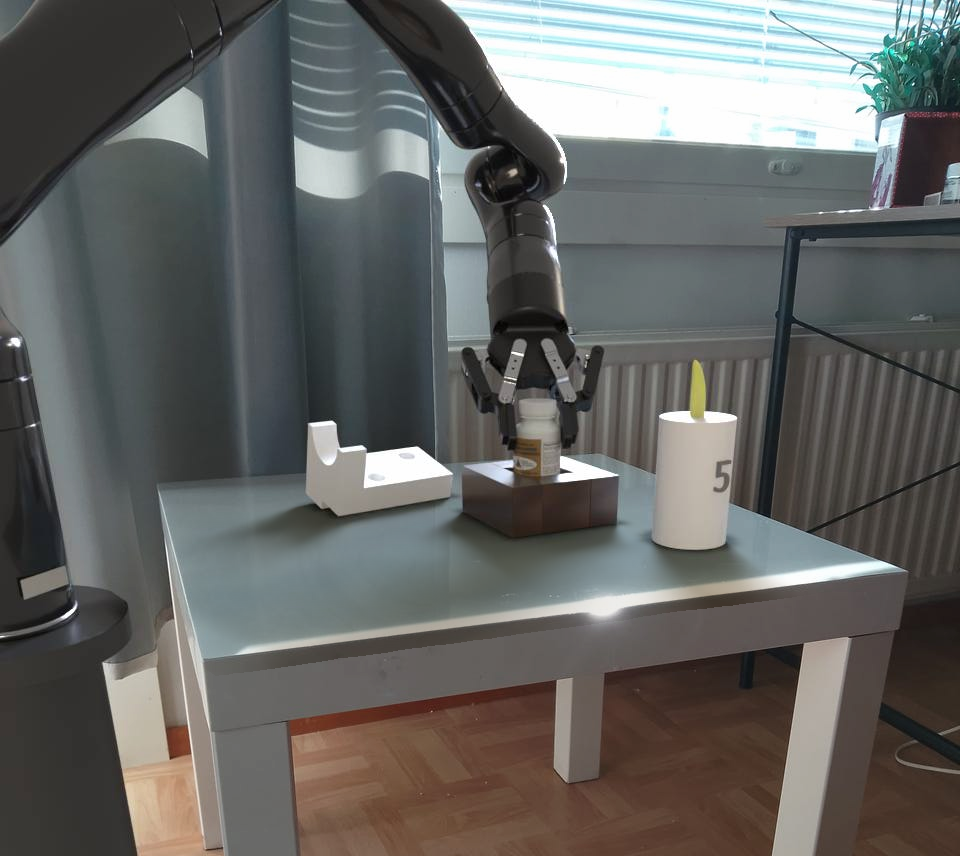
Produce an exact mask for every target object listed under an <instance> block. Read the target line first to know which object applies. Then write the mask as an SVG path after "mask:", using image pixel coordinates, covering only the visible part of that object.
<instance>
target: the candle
mask: <svg viewBox="0 0 960 856" xmlns="http://www.w3.org/2000/svg"><path fill="white" fill-rule="evenodd" d="M690 387H691V388H690V398H689V410H688V411H687V410H685V411H670V412H664V413H662V414H660V415H659V416H658V417H659V418H658V430H657V447H656V462H655V464H656V465H655V479H654V480H655V482H654V497H653V510H652V513H653V514H652V528H651V541H653V542H654V543H655V544H658V545H660V546H663V547H666V548H670V549H671V548H672V549H676V550H677V549H678V550H688V551H689V550H691V551H693V550H694V551H699V550H700V551H701V550H710V549H717V548H719V547H722V546H724V545H725V544H726V541H727V532H728V531H727V530H728V522H729V521H728V519H729V518H728V517H729V510H730V507H729V506H730V499H731V489H732V477H733V466H734V456H735V445H736V435H737V426H738V425H737V424H738V417H737V416H736V415H733V414H730V413H725V412H717V411H706V404H707V389H706V380H705V375H704V370H703V369H702V366H701V364H700V362H699V361H698V360H697V359H694V360H693V361H692V369H691V386H690Z"/></svg>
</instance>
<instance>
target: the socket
mask: <svg viewBox="0 0 960 856" xmlns="http://www.w3.org/2000/svg"><path fill="white" fill-rule="evenodd" d="M619 483H620V475H619V474H616V473H613V472H610V471H607V470H604V469H600V468H599V467H595V466H592V465H590V464H587V463H583V462H580V461H578V460H574V459H572V458H569V457H566V456H563V455H560V474H557V475H549V476H540V477H531V478H526V477H523V476H521V475H518V474H516V473H513V459H511V460H510V459H509V460H503V461H501V460H499V461H491V462H481V463H473V464H464V465H461V501H462V502H461V503H462V509H461V510H462V512H463V513H465V514H467V515H469V516H471V517H473V518H474V519H477V520H478V521H480V522H482V523H484V524H486V525H487V526H489V527H491V528H493V529H495V530H497V531H499V532H501V533H502V534H504V535H506V536H508V537H510V538H512V539H516V538H522V537H523V538H524V537H529V536H537V535H543V534H544V535H545V534H551V533H559V532H565V531H572V530H580V529H586V528H593V527H599V526H600V527H601V526H607V525H614V524H617V522H618V505H619V504H618V503H619Z"/></svg>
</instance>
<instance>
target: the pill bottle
mask: <svg viewBox="0 0 960 856" xmlns="http://www.w3.org/2000/svg"><path fill="white" fill-rule="evenodd" d="M557 410H558V407H557V405H556V400H553V399H551V398H545V397H544V398H542V397H533V398H523V399H520V400H518V414H519V415H518V417H519V418H520V422H519V423H517V424H516V434H517V441H516V448H515V451H512V458H513V459H512V460H513V473H516V474H518V475H521V476H523V477H526V478H531V477H540V476H549V475H557V474H560V456H561V453H562V452H561V450H562V445H561V429H560V426H559V423H556V422H555V421H554V420H555V419H554V418H556V417H557V412H558V411H557Z"/></svg>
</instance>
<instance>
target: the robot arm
mask: <svg viewBox="0 0 960 856" xmlns="http://www.w3.org/2000/svg"><path fill="white" fill-rule="evenodd" d="M281 1H282V0H35V1H34V2H33V3H32V5H31V6H30V7H29V9H28V10H27V12H26V13H25V14H24V15H23V16H22V18H21V19H20V20H19V21H18V22H17V23H16V24H15V25H14V27H13V28H11V30H10V31H8V32H7V33H6V34H5V35H3V36H2V37H1V38H0V248H1V247H2V246H4V245H5V244H6V243H7V242H8V241H9V240H10V239H11V238H12V236H13V235H14V234H16V232H17V231H18V230H19V229H20V228H21V227H22V225H23V224H24V223H25V222H26V221H27V220H28V219H29V218H30V216H31V215H33V213H34V212H35V211H36V210H37V209H38V208H39V207H40V205H42V204H43V202H45V200H46V199H47V198H48V197H49V196H50V195H51V194H52V193H53V191H54V190H55V189H56V188H57V187H58V186H59V185H60V184H61V183H62V182H63V181H64V179H66V177H68V175H69V174H70V173H71V172H72V171H73V170H74V169H75V168H76V167H77V166H78V165H79V164H80V163H81V162H82V161H83V160H85V158H86V157H87V156H89V155H90V154H91V153H92V152H93V151H94V150H96V149H97V148H98V147H100V146H101V145H103V144H104V143H106V142H107V141H109V140H111V139H112V138H113V137H115V136H116V135H118V134H120V133H121V132H123V131H124V130H127V128H129V127H130V126H132V125H133V124H135V123H136V122H137V121H139V120H140V119H142V118H143V117H145V116H146V115H147V114H148V113H150V112H151V111H153V110H154V109H156V108H157V107H158V106H160V105H161V104H162V103H164V102H165V101H166V100H168V99H169V98H170V97H172V96H173V95H175V94H176V93H178V92H179V91H180V90H182V89H183V88H184V87H185V86H186V85H188V84H189V83H190V82H191V81H193V80H194V79H195V78H196V77H197V76H199V75H200V74H201V73H202V72H203V71H205V69H207V68H208V67H210V65H212V64H213V63H214V62H216V61H217V60H218V59H219V58H220V57H221V56H222V55H223V54H224V53H225V52H226V51H227V50H228V49H229V48H230V47H231V46H232V45H233V44H234V43H236V42H237V41H238V40H239V39H241V37H242V36H243V35H245V34H246V33H247V32H249V30H250V29H252V28H253V27H254V26H255V25H256V24H257V23H259V22H260V21H261V20H262V18H264V17H266V15H268V13H269V12H271V11H272V10H273V9H274V8H275V7H276V6H277V5H278V4H279V3H280V2H281ZM343 1H345V3H346V5H348V6H349V7H350V9H351V10H352V11H353V12H354V13H355V15H357V16H358V17H359V19H360V20H361V21H362V23H364V24H365V26H367V28H368V29H369V31H371V32H372V33H373V34H374V36H375V37H376V38H377V39H378V41H380V42H381V44H382V45H383V46H384V47H385V49H386V50H387V51H388V52H389V53H390V55H391V56H392V57H393V58H394V59H395V61H396V62H397V63H398V65H399V66H400V68H401V69H402V70H403V71H404V73H405V74H406V75H407V78H408V79H409V80H410V82H411V83H412V84H413V85H414V87H415V89H416V90H417V91H418V93H419V95H420V96H421V98H422V99H423V101H424V102H425V104H426V106H427V107H428V109H429V110H430V111H431V113H432V115H433V116H434V117H435V119H436V120H437V122H438V124H439V125H440V126H441V128H442V130H443V132H444V133H445V134H446V136H447V137H448V139H449V140H450V141H451V143H452V144H454V146H455V147H457V148H459V149H461V150H467V151H471V150H472V151H473V150H478V149H482V150H480V151H478V152H477V153H476V154H474V155H473V156H472V157H471V158H470V160H469V161H468V163H467V165H466V167H465V171H464V174H463V184H464V189H465V192H466V194H467V197H468V199H469V201H470V203H471V205H472V207H473V209H474V210H475V212H476V215H477V217H478V219H479V222H480V225H481V227H482V231H483V235H484V237H485V238H484V239H485V248H486V260H487V261H486V262H487V274H486V303H487V307H488V320H489V321H488V322H489V332H490V333H489V335H490V341H489V342H488V344H487V348H484V349H480V350H476V351H475V349H474V348H473V347H470V346H465V347H464V348H462V349H461V358H460V359H461V360H460V371H461V374H462V376H463V378H464V381H465V383H466V385H467V388H468V390H469V393H470V395H471V397H472V399H473V402H474V404H475V406H476V407H475V408H476V409H477V411H478V412H479V413H480V414H483V415H484V414H488V413H491V414H493V415H494V416H496V417H497V425H498V439H499V442H500V444H501V446H506V450H507V451H509V452H510V451H511V452H513V451H515V448H516V441H517V434H516V425H517V424H516V411H515V404H514V402H515V400H516V397H517V393H518V390H528V389H531V388H534V389H539V390H546V392H547V393H548V396H549V399H553V400H556V407H557V410H558V412H559V414H558V425H559V427H560V429H561V450H562V451H566V450H571V448H572V445H574V444H575V445H576V441H577V439H578V434H579V431H580V427H579V420H578V412H583V413H588V412H590V411H591V409H592V406H593V402H594V397H595V394H596V389H597V385H598V381H599V376H600V372H601V368H602V363H603V359H604V354H605V349H604V347H602V345H594V346H593V347H592V348H591V349H586V348H581V347H577V345H576V343H575V341H574V340H573V339H572V337H571V335H570V329H569V321H568V319H569V318H568V311H567V302H566V301H567V300H566V293H565V284H564V276H563V271H562V267H561V263H560V260H559V255H558V247H557V240H556V229H555V223H554V219H553V216H552V213H551V212H550V210H549V208H548V207H547V206H546V205H545V204H544V203H543V202H545V201H548V200H549V199H551V198H552V197H554V196H556V195H558V193H559V192H560V191H561V190H562V188H563V186H564V184H565V182H566V179H567V161H566V157H565V153H564V151H563V148H562V147H561V145H560V143H559V142H558V140H557V139H556V137H555V136H554V135H553V133H552V132H551V131H550V130H549V129H548V128H547V127H546V126H545V125H544V124H543V123H542V122H541V121H540V120H539V119H538V118H537V117H535V116H534V115H533V114H532V113H531V112H530V111H529V110H527V108H525V106H523V105H522V104H521V103H520V101H519V100H517V99H516V98H515V96H513V94H512V93H511V92H510V91H509V90H508V88H507V87H506V85H505V83H504V81H503V80H502V78H501V77H500V74H499V73H498V71H497V69H496V67H495V66H494V64H493V62H492V61H491V59H490V56H489V55H488V52H486V49H485V47H484V46H483V45H482V43H481V41H480V40H479V38H478V37H477V36H476V34H475V33H474V32H473V30H472V29H471V28H470V26H469V25H468V23H466V22H465V21H464V19H462V18H461V16H460V15H459V14H458V13H456V12H455V11H454V10H453V9H452V8H451V7H450V6H449V5H448V4H447V3H445V2H444V1H443V0H343ZM483 148H484V149H483ZM574 362H575V363H576V364H577V365H578V370H579V372H580V373H581V375H582V376H585V377H584V380H583V384H582V389H580V390H577V391H575V390H574V388H573V386H572V384H571V382H570V376H569V373H568V371H567V370H568V369H569V368H570V366H572V364H573V363H574ZM487 364H489V365H490V366H491V367H492V368H493V369H494V370H495V371H496V372H497V373H498V374H499V375H500V377H502V378H503V380H502V384H501V387H500V390H499V393H498V392H493V391H492V389H491V387H490V384H489V382H488V380H487V377H486V375H485V372H486V368H487V367H486V365H487ZM33 377H34V376H33V370H32V365H31V360H30V356H29V349H28V346H27V341H26V340H25V337H24V336H23V334H22V333H21V332H20V330H19V329H18V328H17V327H16V326H15V325H14V324H13V323H12V321H10V319H9V318H8V316H7V314H6V313H5V311H4V309H3V308H2V306H1V305H0V643H2V642H9V641H15V640H20V639H25V638H30V637H34V636H37V635H40V634H44V633H47V632H50V631H52V630H55V629H57V628H59V627H62V626H64V625H66V624H67V623H69V622H70V621H72V620H73V619H74V618H75V617H76V616H77V615H78V612H79V609H78V604H77V600H76V599H75V596H74V587H73V585H74V583H73V580H72V576H71V575H72V574H71V570H70V565H69V558H68V555H67V554H68V553H67V549H66V542H65V538H64V534H63V533H64V532H63V528H62V523H61V517H60V513H59V512H60V511H59V507H58V502H57V497H56V492H55V487H54V486H55V485H54V481H53V476H52V471H51V465H50V459H49V455H48V450H47V444H46V440H45V439H46V438H45V435H44V430H43V424H42V419H41V413H40V409H39V402H38V399H37V393H36V388H35V381H34V378H33Z"/></svg>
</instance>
